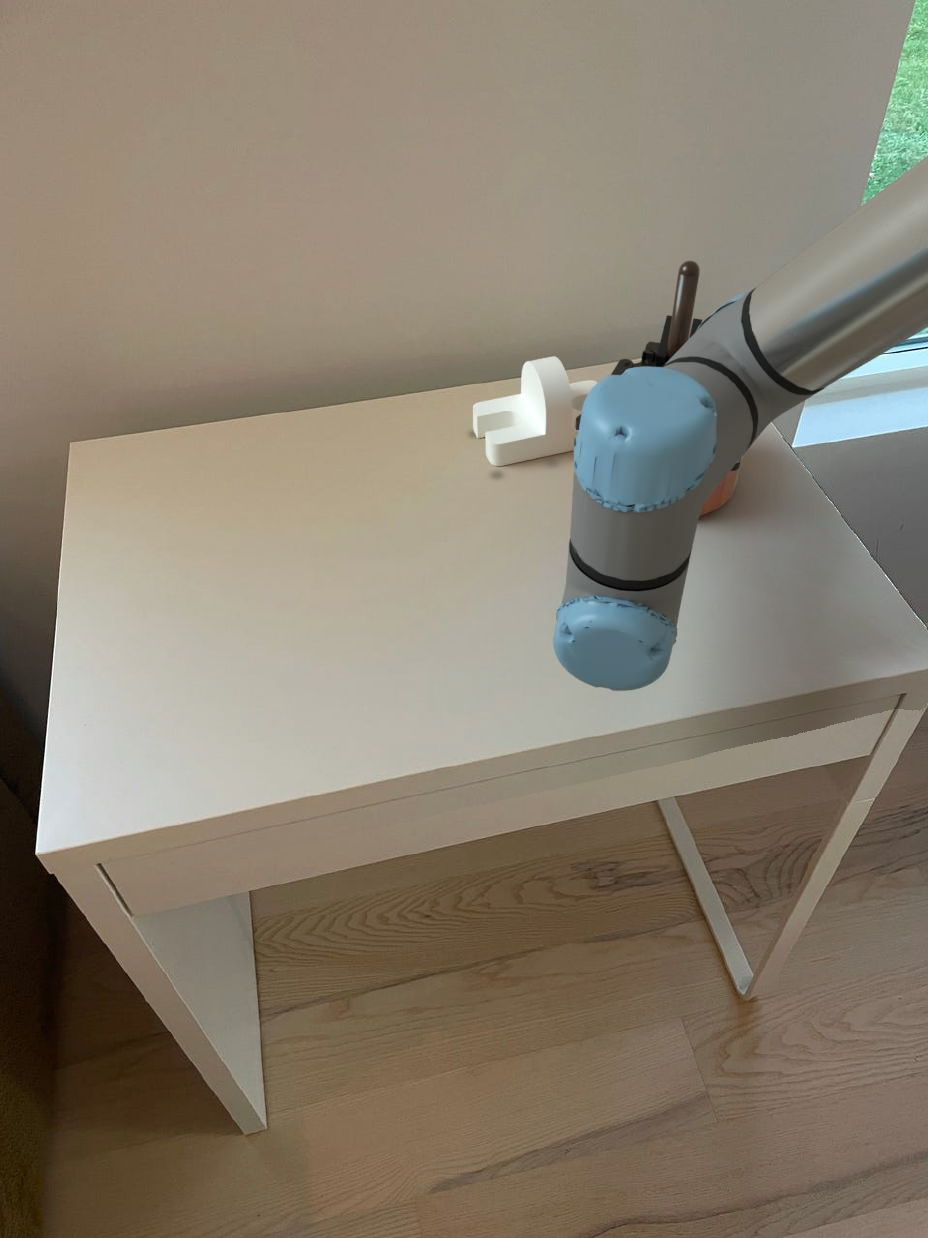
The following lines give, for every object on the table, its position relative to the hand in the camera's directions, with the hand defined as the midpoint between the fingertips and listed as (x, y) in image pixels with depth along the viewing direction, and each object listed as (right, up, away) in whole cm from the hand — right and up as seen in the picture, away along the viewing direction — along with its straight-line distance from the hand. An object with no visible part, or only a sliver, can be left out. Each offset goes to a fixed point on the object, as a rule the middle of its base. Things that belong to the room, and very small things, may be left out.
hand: (682, 331), depth 85 cm
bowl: (0, -12, +5) cm, 13 cm away
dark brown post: (-1, -11, +4) cm, 11 cm away
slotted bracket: (-11, -7, +10) cm, 17 cm away
